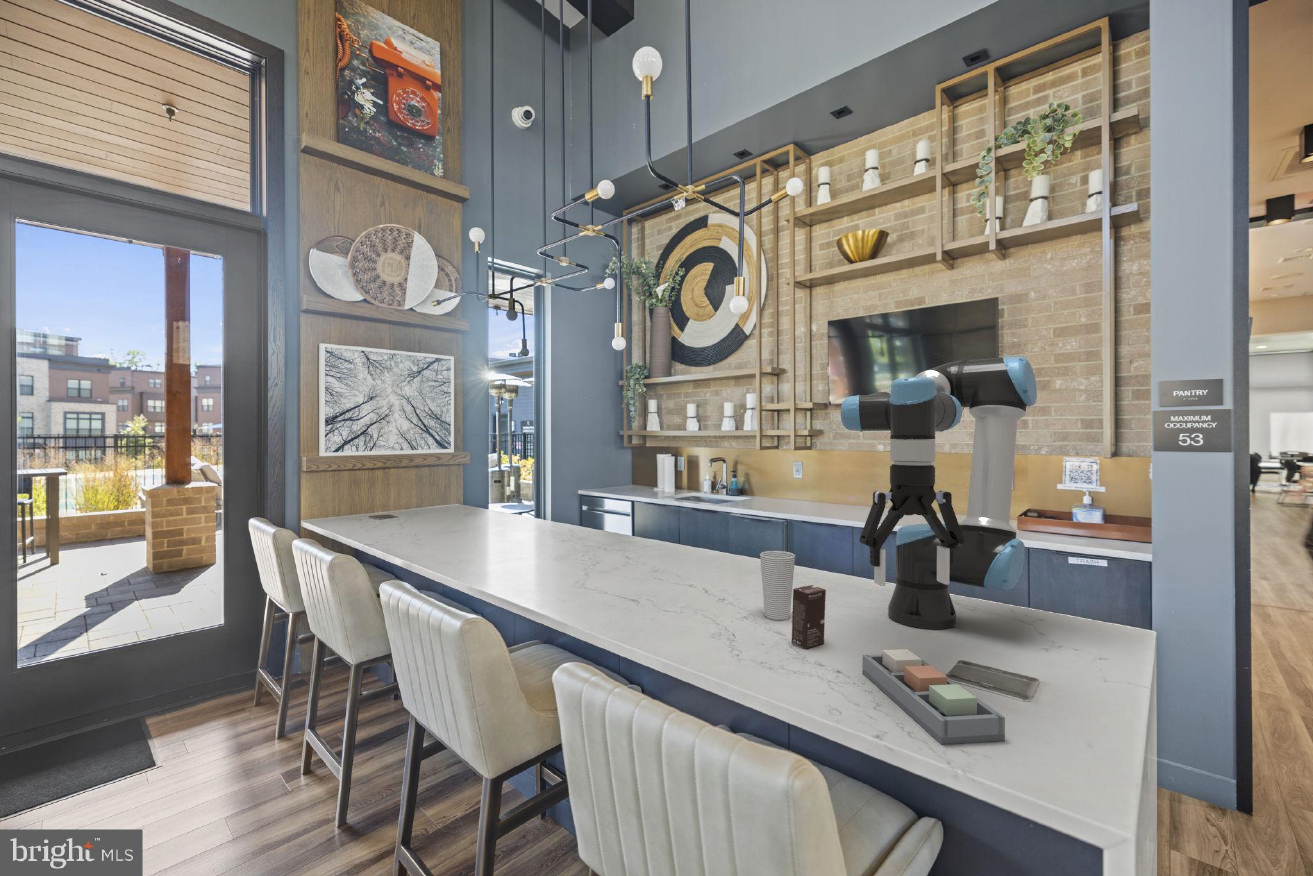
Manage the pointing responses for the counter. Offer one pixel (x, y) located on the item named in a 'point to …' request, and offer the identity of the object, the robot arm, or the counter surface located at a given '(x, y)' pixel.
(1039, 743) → the counter surface
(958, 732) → the gray divided tray
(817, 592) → the box
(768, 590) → the cup
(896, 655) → the key ivory
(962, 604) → the counter surface
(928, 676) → the key terracotta
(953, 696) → the key sage
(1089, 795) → the counter surface
